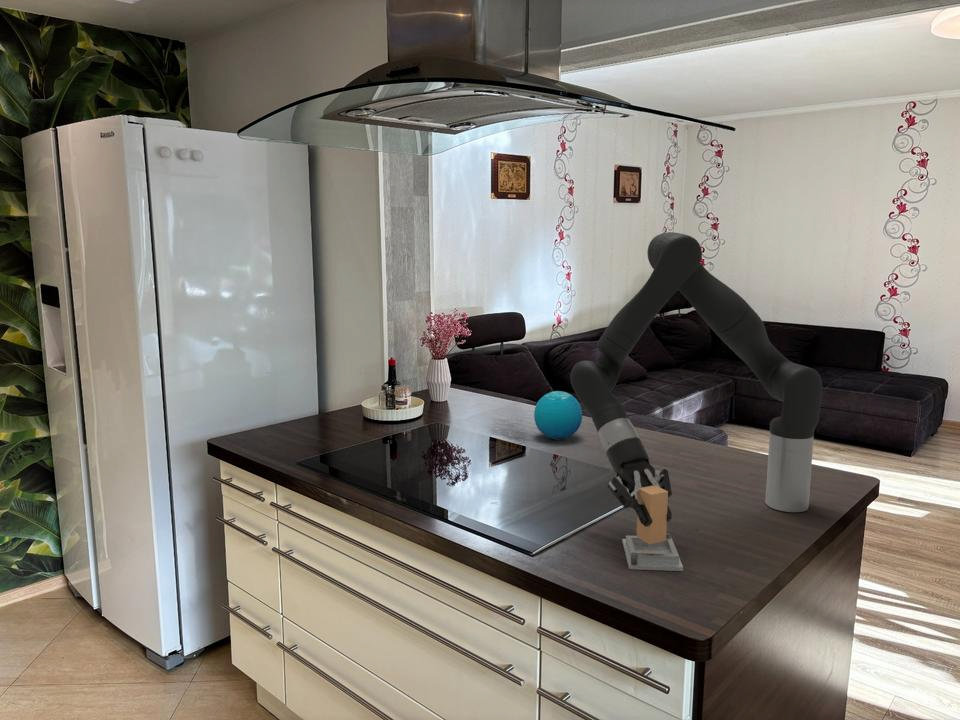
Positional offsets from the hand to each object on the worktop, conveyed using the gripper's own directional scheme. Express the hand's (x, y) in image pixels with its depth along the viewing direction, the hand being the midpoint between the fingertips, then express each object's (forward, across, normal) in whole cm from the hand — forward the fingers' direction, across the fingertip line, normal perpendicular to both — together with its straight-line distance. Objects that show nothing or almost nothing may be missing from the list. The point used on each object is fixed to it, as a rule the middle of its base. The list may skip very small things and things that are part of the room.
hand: (658, 522), depth 136 cm
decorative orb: (-52, +26, +63) cm, 86 cm away
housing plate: (+4, 0, +7) cm, 8 cm away
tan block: (+2, 0, +4) cm, 5 cm away
